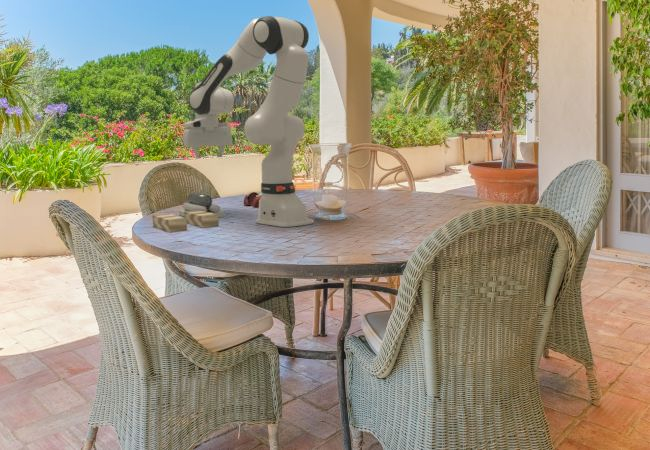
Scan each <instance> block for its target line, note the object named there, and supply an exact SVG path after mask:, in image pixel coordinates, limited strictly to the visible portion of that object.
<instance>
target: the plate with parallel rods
mask: <svg viewBox="0 0 650 450" xmlns="http://www.w3.org/2000/svg"><path fill="white" fill-rule="evenodd" d="M182 209H183V210H182ZM182 209H181V210H178V216H179V215H181V216H180V217H182V216H184V212H186V211H195V210H201V211H205V212H209V213H213V214H217V215H218V219H221V218H225V211H221V207H220V206H219V204H213V203H212V204H211V206H210V207H208V208H206V207H204V206H199V205H195V204H191V203H189V202H188V201H186V202H183V204H182Z"/></svg>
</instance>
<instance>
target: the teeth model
mask: <svg viewBox="0 0 650 450" xmlns="http://www.w3.org/2000/svg"><path fill="white" fill-rule="evenodd" d="M261 197H262V193H258V192H255V191H251V192H249V193H247V194H246V195H245V196H244V199H243V206H244V207H249V206H252V208H253V209H255V208H256V209H257V208H259V200H260V198H261Z"/></svg>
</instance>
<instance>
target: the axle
mask: <svg viewBox="0 0 650 450" xmlns="http://www.w3.org/2000/svg"><path fill="white" fill-rule="evenodd" d="M187 203H191V204H195V205H199V206H204V207H206V208H208V207H210V206H211V204H213V199H212V197H211V196H210V195H207V194H204V193H203V194H202V193H198V192H190V193H189V194H188V196H187Z"/></svg>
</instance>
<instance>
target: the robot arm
mask: <svg viewBox="0 0 650 450" xmlns="http://www.w3.org/2000/svg"><path fill="white" fill-rule="evenodd" d="M239 35H240V36H239V37H238V38H237V40H236V42H235V44H234V45H233V46H232V47H231V48H230V49H229V50H228V51H227V52H226V53H224V54H223V55H222V56H221V57H219V59H218V60H217V61H216V62H215V64H214V65H213V66H212V68H211V69H210V70H209V71H208V73H207V74H206V75H205V76H204V78H203V79H202V80H201V81H199V82H197V83H196V84H195V86H194V88H193V90H192V91H191V92H190V94H189V97H188V102H189V106H190V108H191V109H192V111H193V112H195V114H194V115H195V117H194V118H195V119H191V120H189V121H187V122H185V123H184V124H183V127H184V128H185V129H184V130H183V133H182V134H183V135H182V144H183V146H184V147H185V148H192V151H193V153H194V154H195V159H201V158H202V154H201V153H199V151H198V150H199V148H200V147H218V149H219V151H218V152H217V153H216V155H217V156H216V158H223V153H224V150H225V147H227V146H231V145H232V144H233V138H232V137H233V136H232V129H231V128H232V127H231V125H230V124H228V123H227V122H219V114H220V115H223V114H224V115H225V114H229V113H232V111H233V110H234V108H235V106H236V105H235V104H236V99H235V96H234V93H233V92H232V91H231V90H230V89H227V88H224V87H221V85H222V84H223V83H224V81H226V79H228V78H230V77H232V76H235V75H238V74H243V73H247V72H252V71H253V70H255V69H257V67H259V66H260V64H261V63H262V61H263V60H264V58H265V56H266V55H267V54H269V55H275V57H276V64H275V68H274V71H273V76H272V79H271V83H270V86H269V90H268V93H267V94H266V97H265V99H264V101H263V102H262V104H261V105H260V107H259V108H258V110H256V112H255V113H254V114H252V115H251V116H249V117H248V118H247V119H246V120H245V123H244V127H243V132H244V136H245V138H246V139H247V141H248V142H250V143H251V144H254V145H260V146H270V147H269V152H268V154H267V155H266V156H265V157H264V158H263V159H262V161H261V164H260V165H261V184H260V193H261V194H262V197H261V198H260V200H259V207H258V214H257V215H258V219H255V224H259V225H268V226H272V227H280V228H288V227H289V228H290V227H300V226H307V225H312V224H314V223H315V220H314V219H313V218H309V217H308V210H307V205H306V203H304V202H303V200H301V198H300V197H299V196H298V195H297V194H296V189H297V188H296V185H294V182H293V158H294V154H295V151H296V148H297V146H298V144H299V142H301V140H302V139H303V137H304V136H305V133H306V132H305V131H306V125H305V123H304V120H302V118H301V117H299V116H296V115H294V114H290V113H289V112H290V111H291V110H292V109H293V108H295V107H297V106H298V104H299V102H300V100H301V96H302V92H303V89H304V85H305V83H306V82H305V81H306V77H307V73H308V65H309V54H308V52H307V51H306V50H305V48H306V46H307V45H308V42H309V39H310V38H309V37H310V36H309V31H308V28H307V27H306V25H304V24H303V23H302V22H300V21H298V20H292V19H289V18H287V17H281V16H272V15H266V16H261V17H260V18H259V17H258V18H257V17H256V18H254V19H252V20H251V21H250V22H249V23H248V24H247V26H245V28H244V30H243V31H242V32H241V34H239Z"/></svg>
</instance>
